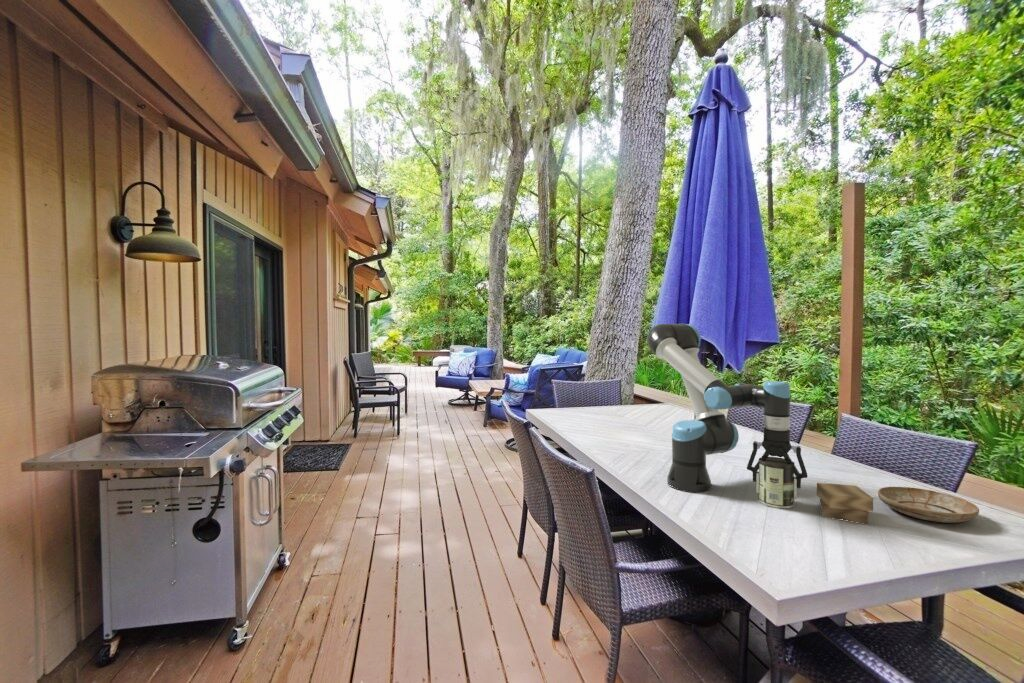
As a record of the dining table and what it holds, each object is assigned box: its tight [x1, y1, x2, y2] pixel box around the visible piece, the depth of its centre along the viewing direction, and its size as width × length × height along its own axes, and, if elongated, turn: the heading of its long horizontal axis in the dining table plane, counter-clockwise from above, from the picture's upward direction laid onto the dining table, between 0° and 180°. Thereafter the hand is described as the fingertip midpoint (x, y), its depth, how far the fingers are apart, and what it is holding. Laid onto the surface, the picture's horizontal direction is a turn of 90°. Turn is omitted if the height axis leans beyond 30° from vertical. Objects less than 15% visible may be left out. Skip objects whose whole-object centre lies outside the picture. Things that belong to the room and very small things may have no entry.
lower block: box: [819, 497, 869, 525], centre depth 140 cm, size 11×11×4 cm
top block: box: [816, 482, 874, 512], centre depth 140 cm, size 11×11×4 cm
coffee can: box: [758, 456, 796, 509], centre depth 150 cm, size 10×10×14 cm
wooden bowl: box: [877, 486, 980, 524], centre depth 140 cm, size 23×24×5 cm
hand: (776, 494), depth 150 cm, fingers closed on coffee can, 10 cm apart
